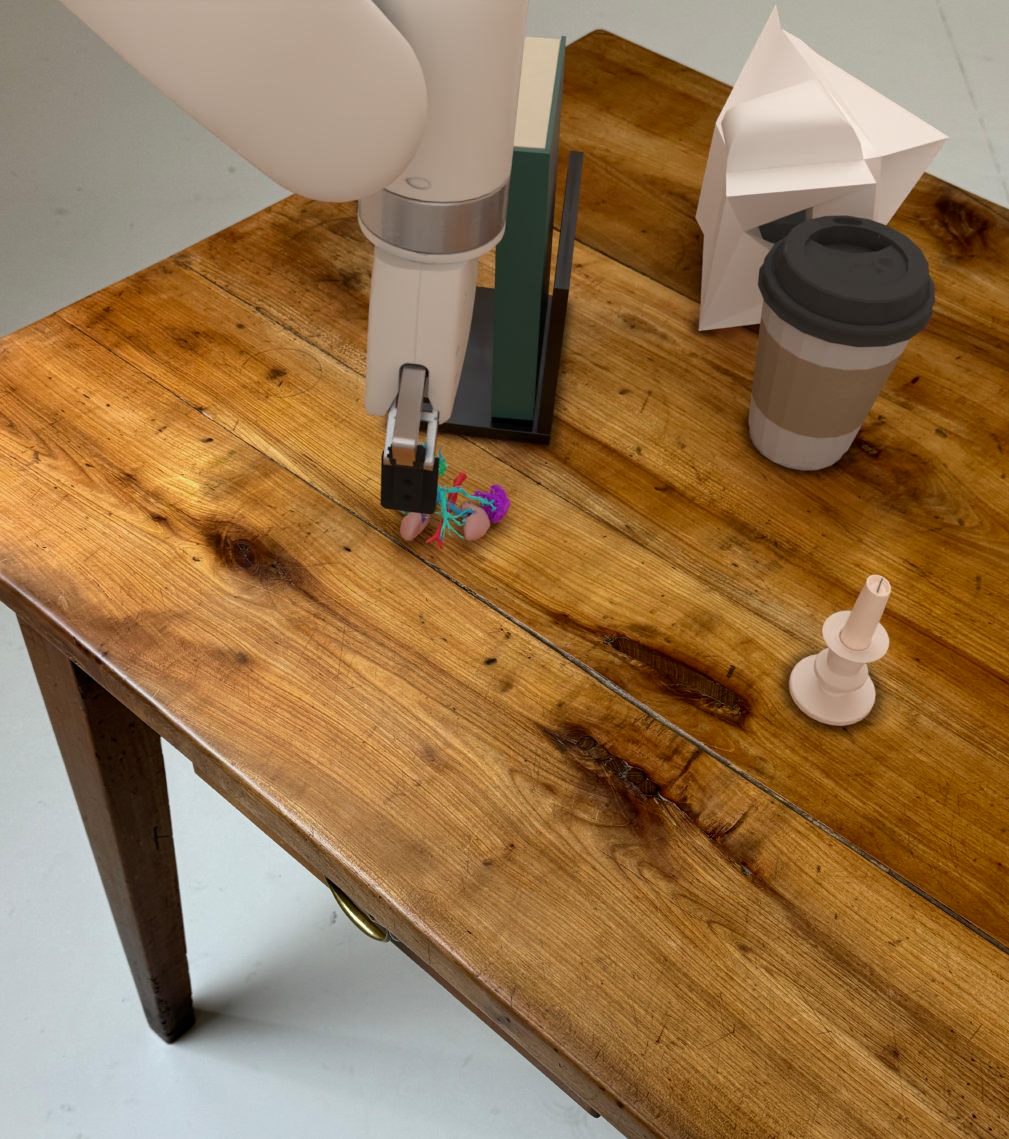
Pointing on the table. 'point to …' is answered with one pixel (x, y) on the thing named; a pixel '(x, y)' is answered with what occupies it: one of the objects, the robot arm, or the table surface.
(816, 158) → the folded paper
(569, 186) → the book stand
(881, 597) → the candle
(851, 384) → the coffee cup
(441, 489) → the anatomy model
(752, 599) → the table surface
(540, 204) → the book
